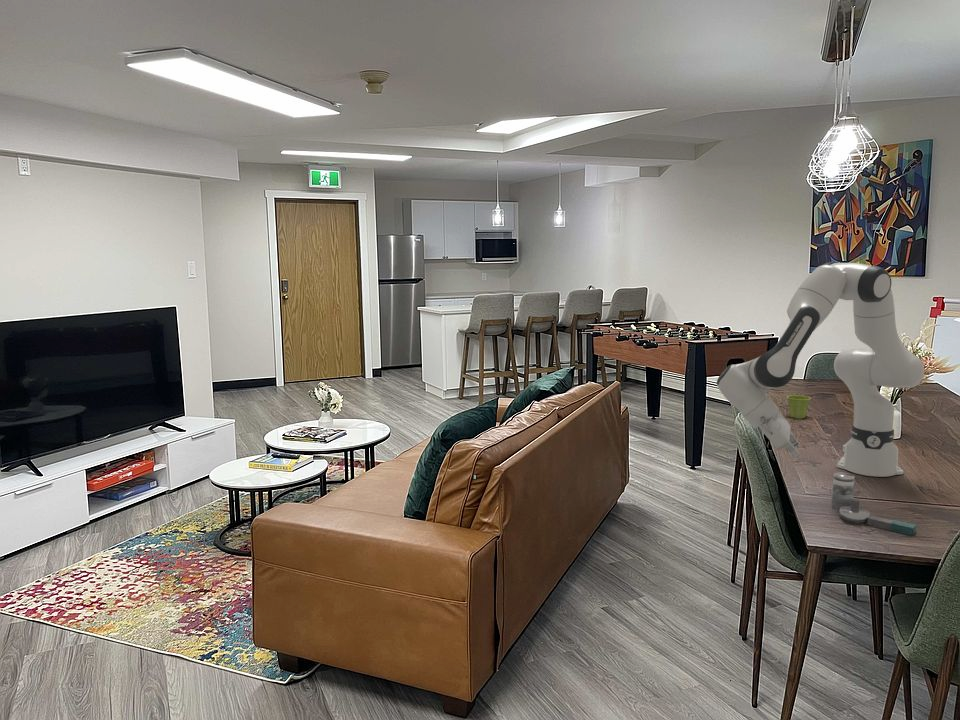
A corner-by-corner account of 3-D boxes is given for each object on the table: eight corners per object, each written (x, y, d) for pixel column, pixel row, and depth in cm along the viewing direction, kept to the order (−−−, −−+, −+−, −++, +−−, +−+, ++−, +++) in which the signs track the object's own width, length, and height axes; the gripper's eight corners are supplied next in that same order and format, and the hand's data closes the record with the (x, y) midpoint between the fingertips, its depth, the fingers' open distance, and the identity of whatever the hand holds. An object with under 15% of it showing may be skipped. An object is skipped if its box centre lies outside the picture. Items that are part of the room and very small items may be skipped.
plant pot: (783, 414, 308) (784, 394, 307) (806, 415, 306) (807, 395, 305) (788, 419, 299) (789, 399, 298) (812, 420, 297) (813, 399, 296)
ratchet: (835, 520, 189) (836, 500, 188) (844, 513, 193) (845, 493, 193) (910, 538, 176) (912, 517, 176) (917, 530, 181) (919, 509, 180)
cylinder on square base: (830, 501, 202) (833, 471, 201) (851, 504, 200) (854, 473, 198) (831, 507, 197) (833, 476, 196) (853, 510, 195) (855, 479, 194)
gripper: (769, 414, 193) (806, 453, 191) (772, 400, 212) (806, 435, 209) (751, 429, 196) (787, 467, 193) (756, 413, 214) (789, 448, 212)
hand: (797, 450), depth 201 cm, fingers open, 8 cm apart
